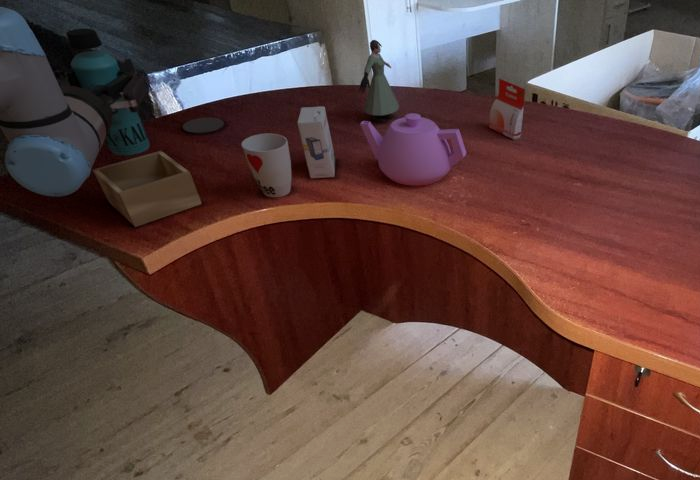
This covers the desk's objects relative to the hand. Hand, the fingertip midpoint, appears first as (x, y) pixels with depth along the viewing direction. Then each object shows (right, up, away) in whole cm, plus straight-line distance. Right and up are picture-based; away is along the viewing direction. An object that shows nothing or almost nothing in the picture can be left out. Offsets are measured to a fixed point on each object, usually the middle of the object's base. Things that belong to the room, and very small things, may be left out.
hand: (107, 68), depth 90 cm
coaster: (-5, +6, +38) cm, 38 cm away
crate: (0, -19, +12) cm, 23 cm away
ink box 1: (+28, -9, +25) cm, 39 cm away
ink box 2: (+67, +6, +43) cm, 80 cm away
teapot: (+48, -9, +26) cm, 55 cm away
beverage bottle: (+1, -13, +6) cm, 14 cm away
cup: (+21, -16, +17) cm, 32 cm away
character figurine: (+36, +10, +45) cm, 59 cm away
